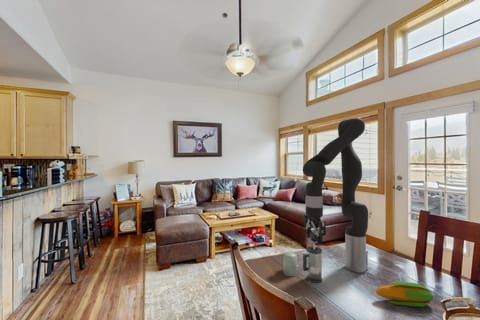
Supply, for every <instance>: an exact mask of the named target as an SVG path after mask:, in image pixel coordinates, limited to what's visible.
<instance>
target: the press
mask: <svg viewBox="0 0 480 320" xmlns="http://www.w3.org/2000/svg"><path fill="white" fill-rule="evenodd" d="M305 251H306V252H305V253H303V254H302V270H303V271H304V272H306V280H307V281H308V282H310V283H312V284H315V285H316V284H322V283H323V278H322V276H323V273H322V272H323V270H322V269H323V268H322V267H323V249H322V248H321V247H320V246H316V245H315V250H313V245H310V246H309V245H308V246H307V247H306V249H305Z"/></svg>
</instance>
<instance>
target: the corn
mask: <svg viewBox="0 0 480 320" xmlns="http://www.w3.org/2000/svg"><path fill="white" fill-rule="evenodd" d="M374 291H375V293H376V294H377V295H378V296H380V297H382V298H385V299H388V301H387V303H389V304H393V305H397V306H405V307H420V308H423V307H427V306H428V305H430V304H431V302H432V301H433V300H434V295H433V293H432V292H431V291H430V289H428V288H427V287H425V286H424V285H422V284H419V283H416V282H410V281H409V282H406V281H393V282H390V285H383V286H379V287H377V288H376V289H375V290H374Z"/></svg>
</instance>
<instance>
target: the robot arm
mask: <svg viewBox="0 0 480 320" xmlns="http://www.w3.org/2000/svg"><path fill="white" fill-rule="evenodd" d="M365 129H366V124H365V122H364V120H363V119H362V118H359V117H354V118H347V119H344V120H342V121H341V120H340V122H339V124H338V126H337V134H338V137H336V138H335V139H333V140H331V141H330V142H329V143H327V144H326V145H325V146H324V147H323V148H322V149H321V150H320V151H318V153H317V154H315V155H314V156H313V157H311V158H310V159H309V160H307V161H306V162H305V163H304V165H303V167H302V172H303V174H304V176H306V177H309V178H312V179H311V181H310V182H307V183H306V185H305V195H306V196H305V214H304V215H303V227H304V228H305V230H306V237H307V238H308V239H310V232H313V231H314V232H316V233H317V241H316V244H317V245H323V241H324V240H323V237H324V236H327V227H326V223H327V222H326V221H322V220H321V218H323V216H324V204H323V203H324V200H323V199H324V198H323V185H324V183H325V178H326V175H327V169H326V166H328V165H330V164H331V163H332V162H333V161H334V159H336V158H337V156H338V155H339V154H340V159H341V180H342V185H341V186H342V187H341V188H342V195H341V196H342V197H341V198H342V199H341V214H342V215H343V217H344V218H346V219H348V220H351V221H352V224H351V225H349V226H346V227H345V230H344V233H345V238H344V239H345V241H344V242H345V249H344V250H345V254H344V255H345V256H344V257H345V260H344V261H345V263H344V264H345V265H344V266H345V268H346V269H347V270H349V271H351V272H354V273H360V274H361V273H365V272H366V271H368V268H369V267H368V265H369V264H368V263H369V261H368V260H369V256H368V254H369V253H368V250H367V232H368V227H369V210H368V207H367V206H366V205H365V204H364V203H361V202H356V191H357V187H358V186H359V184H360V182H361V181H362V178H363V167H362V166H363V165H362V161H361V158H360V157H359V155H358V154H357V153H356V151H355V150H354V147H353V142H354V141H355V140H356V139H358V138H359V137H360V136H362V134H364V133H365ZM312 228H313V230H312Z"/></svg>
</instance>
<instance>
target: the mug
mask: <svg viewBox="0 0 480 320" xmlns="http://www.w3.org/2000/svg"><path fill="white" fill-rule="evenodd" d="M283 274H284V275H285V276H286V277H291V276H293V277H295V276H297V275H298V254H297V253H296V252H293V251H285V252H284V253H283Z"/></svg>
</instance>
